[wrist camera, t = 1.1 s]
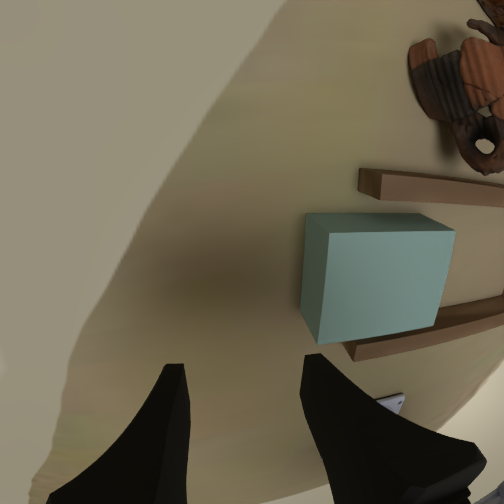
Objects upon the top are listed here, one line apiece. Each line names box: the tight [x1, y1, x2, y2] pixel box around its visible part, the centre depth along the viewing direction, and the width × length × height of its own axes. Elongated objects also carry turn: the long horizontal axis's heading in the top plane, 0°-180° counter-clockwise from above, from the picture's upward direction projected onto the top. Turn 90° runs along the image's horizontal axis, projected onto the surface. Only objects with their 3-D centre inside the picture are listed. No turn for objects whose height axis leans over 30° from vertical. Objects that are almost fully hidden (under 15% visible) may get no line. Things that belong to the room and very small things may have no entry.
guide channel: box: [342, 168, 504, 362], centre depth 21 cm, size 13×22×3 cm, turn 90°
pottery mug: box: [409, 19, 504, 176], centre depth 16 cm, size 12×10×8 cm
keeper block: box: [300, 213, 456, 345], centre depth 20 cm, size 7×9×4 cm
